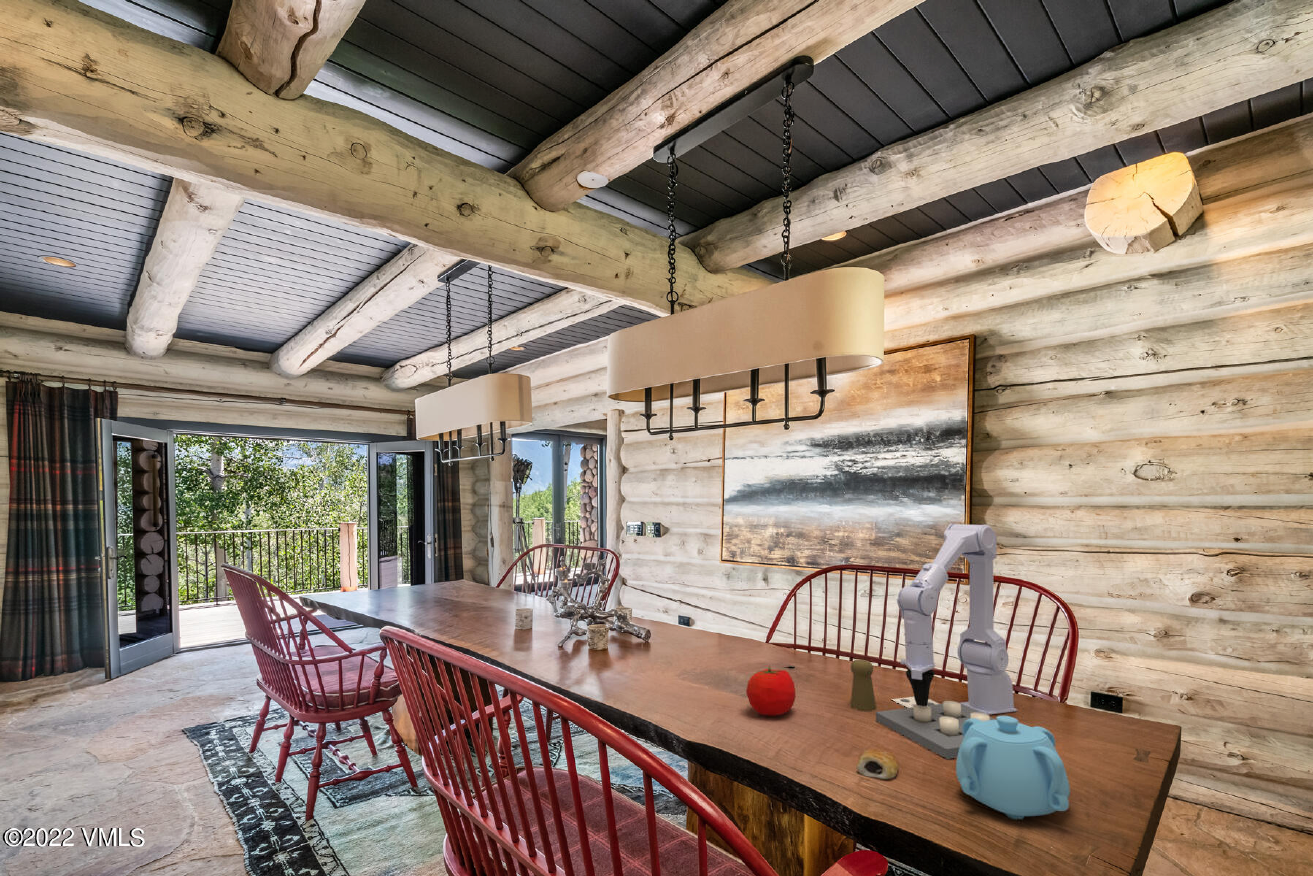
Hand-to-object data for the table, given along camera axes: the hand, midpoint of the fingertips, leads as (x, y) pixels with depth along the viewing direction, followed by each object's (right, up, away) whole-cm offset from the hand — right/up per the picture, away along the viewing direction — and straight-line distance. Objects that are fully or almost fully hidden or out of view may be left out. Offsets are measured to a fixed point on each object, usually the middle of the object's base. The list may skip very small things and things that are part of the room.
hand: (921, 705), depth 135 cm
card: (+6, -7, +16) cm, 18 cm away
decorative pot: (0, -2, -34) cm, 34 cm away
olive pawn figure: (-8, -7, +14) cm, 17 cm away
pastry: (-17, -4, -21) cm, 27 cm away
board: (+5, -5, -3) cm, 8 cm away
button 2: (+10, -3, -6) cm, 12 cm away
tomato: (-31, -7, +10) cm, 33 cm away
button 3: (0, -3, 0) cm, 3 cm away
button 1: (+8, -4, +2) cm, 9 cm away
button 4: (+2, -3, -8) cm, 9 cm away
